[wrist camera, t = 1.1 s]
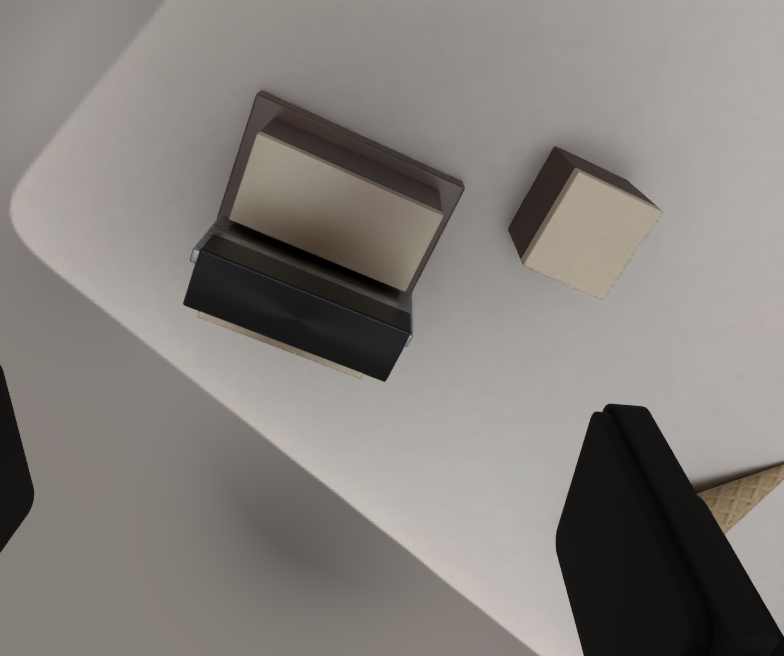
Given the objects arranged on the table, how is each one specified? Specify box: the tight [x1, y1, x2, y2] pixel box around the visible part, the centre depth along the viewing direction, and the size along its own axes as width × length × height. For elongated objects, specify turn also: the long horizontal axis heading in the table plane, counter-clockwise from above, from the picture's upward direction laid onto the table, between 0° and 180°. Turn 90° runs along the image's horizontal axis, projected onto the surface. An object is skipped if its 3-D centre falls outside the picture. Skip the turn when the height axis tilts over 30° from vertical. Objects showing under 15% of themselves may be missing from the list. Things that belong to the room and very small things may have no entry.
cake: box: [197, 91, 465, 379], centre depth 28 cm, size 10×10×4 cm
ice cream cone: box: [697, 464, 784, 534], centre depth 37 cm, size 5×5×15 cm
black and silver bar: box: [183, 215, 413, 382], centre depth 25 cm, size 9×2×6 cm, turn 66°
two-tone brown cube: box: [508, 146, 663, 300], centre depth 28 cm, size 4×4×4 cm
